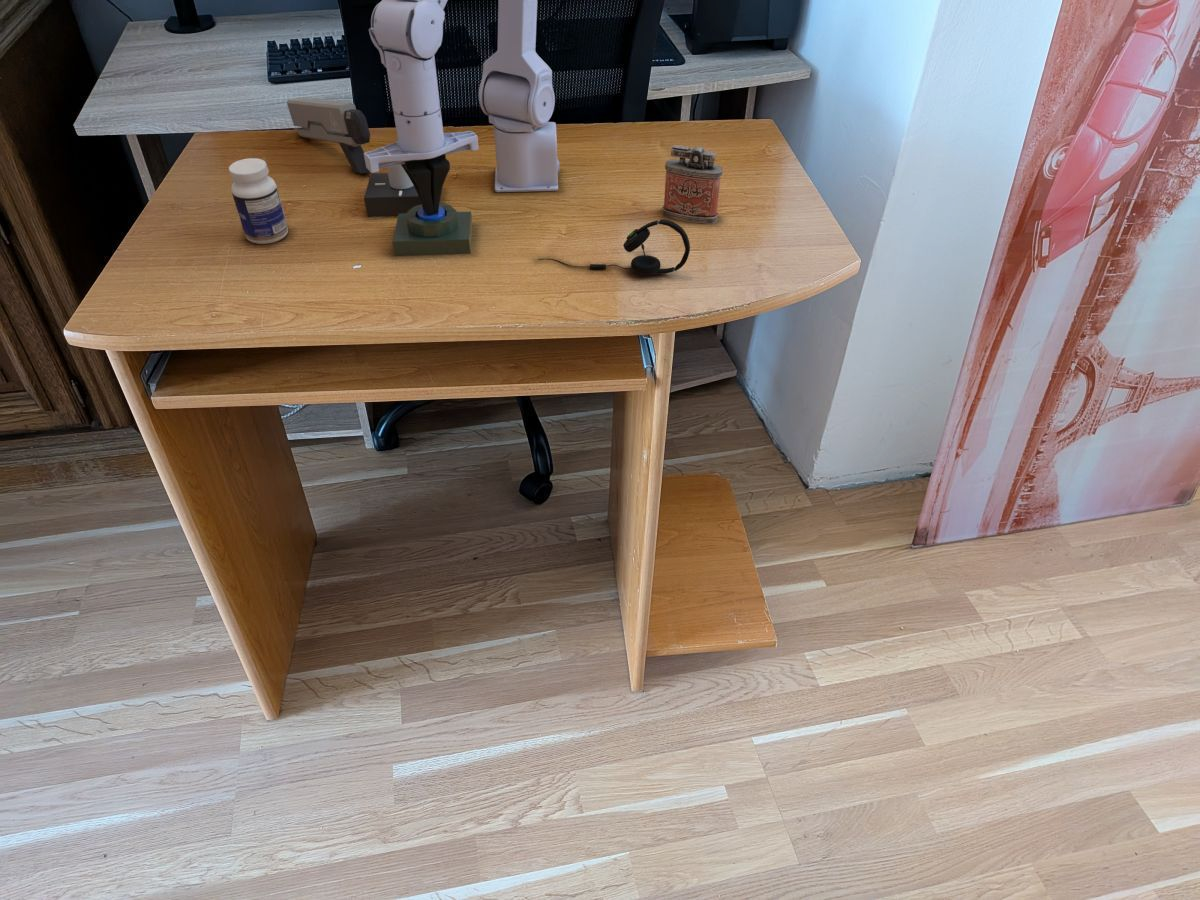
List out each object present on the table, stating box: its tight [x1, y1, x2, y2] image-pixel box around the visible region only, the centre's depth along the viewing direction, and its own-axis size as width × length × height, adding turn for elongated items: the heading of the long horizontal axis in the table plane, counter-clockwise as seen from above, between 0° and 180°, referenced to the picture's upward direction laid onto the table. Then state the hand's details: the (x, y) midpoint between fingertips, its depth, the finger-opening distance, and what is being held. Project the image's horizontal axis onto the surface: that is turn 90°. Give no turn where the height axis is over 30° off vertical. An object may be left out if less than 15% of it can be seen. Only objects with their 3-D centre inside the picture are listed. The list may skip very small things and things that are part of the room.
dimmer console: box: [363, 172, 443, 218], centre depth 121 cm, size 10×8×3 cm
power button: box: [417, 207, 445, 221], centre depth 112 cm, size 4×4×2 cm
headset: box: [537, 219, 691, 276], centre depth 109 cm, size 7×7×20 cm
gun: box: [286, 97, 371, 175], centre depth 132 cm, size 2×25×10 cm, turn 41°
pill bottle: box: [228, 157, 289, 245], centre depth 111 cm, size 6×6×10 cm
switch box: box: [392, 202, 474, 257], centre depth 112 cm, size 10×8×4 cm
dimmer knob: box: [386, 165, 414, 189], centre depth 119 cm, size 4×4×4 cm
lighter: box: [661, 144, 723, 225], centre depth 117 cm, size 8×3×10 cm, turn 71°
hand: (430, 212), depth 111 cm, fingers closed, pressing on power button
